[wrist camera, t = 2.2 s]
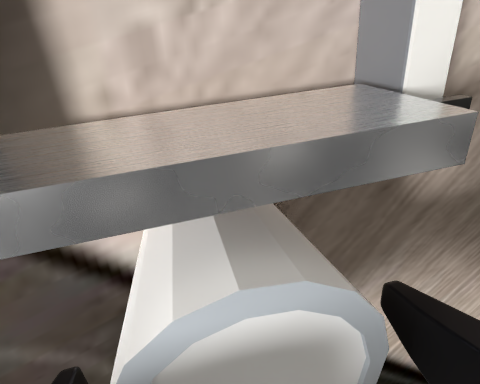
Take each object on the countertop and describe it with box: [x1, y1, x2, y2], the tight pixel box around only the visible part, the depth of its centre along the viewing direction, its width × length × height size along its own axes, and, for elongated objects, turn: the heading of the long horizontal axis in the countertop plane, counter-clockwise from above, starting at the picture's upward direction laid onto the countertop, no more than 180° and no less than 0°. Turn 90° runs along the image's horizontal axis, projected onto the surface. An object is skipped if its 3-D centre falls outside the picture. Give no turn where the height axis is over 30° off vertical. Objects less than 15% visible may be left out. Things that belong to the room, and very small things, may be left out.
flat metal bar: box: [0, 84, 478, 259], centre depth 8 cm, size 13×1×4 cm, turn 95°
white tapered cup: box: [110, 203, 389, 384], centre depth 10 cm, size 7×7×7 cm
